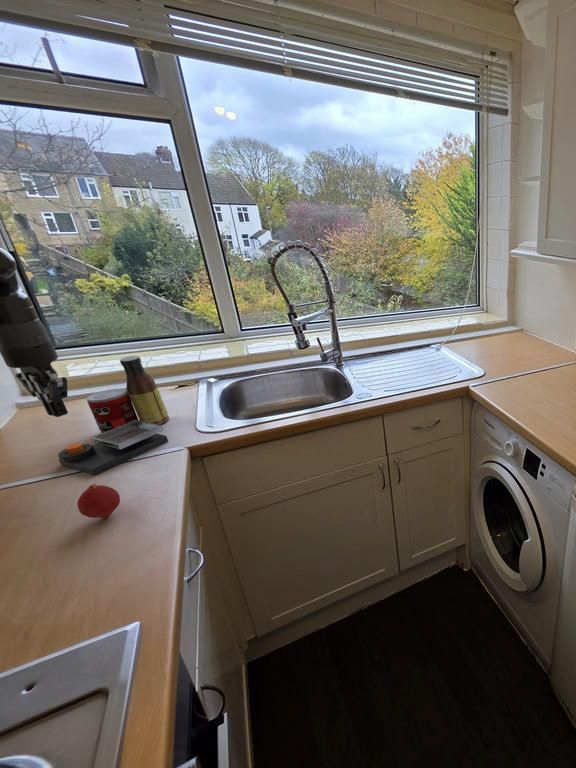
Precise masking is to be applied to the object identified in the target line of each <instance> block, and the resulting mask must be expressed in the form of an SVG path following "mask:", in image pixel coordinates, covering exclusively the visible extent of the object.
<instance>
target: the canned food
mask: <svg viewBox="0 0 576 768" xmlns="http://www.w3.org/2000/svg"><path fill="white" fill-rule="evenodd" d="M86 402H87V404H88V407H89V409H90V411H91V413H92V416H93V419H94V421H95V422H96V425H97V427H98V429H99V431H100V434H101V433H103V432H106V431H108V430H111V429H113V428H116V427H118V426H121V425H123V424H126V423H128V422H131V421H133V420H139V417H138V415H137V413H136V410H135V408H134V406H133V404H132V401H131V399H130V397H129V395H128V392H127V390H126V388H111V389H105V390H101V391H98V392H95V393H93V394H92V393H91V394H90V395H89V396H87V397H86Z"/></svg>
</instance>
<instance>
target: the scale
mask: <svg viewBox="0 0 576 768" xmlns="http://www.w3.org/2000/svg"><path fill="white" fill-rule="evenodd" d="M166 443H169V439H168V437H167V435H165V434H160V433H157V434H155V435H152V436H150V437H148V438H145V439H143V440H141V441H139V442H136V443H134V444H132V445H130V446H127V447H125V448H123V449H120V450H119V449H115V448H111V447H108V446H104V445H100V444H96V443H94V444H92V443H91V444H90V443H82V445H83V447H84V450H83V451H80V452H78V453H74V454H68V453H67V451H66V449H65V448H64V449H62V450H61V451H59V452H58V456H57V457H58V462H59V464H60V467H63V468H67V469H70V470H74V471H76V472H80V473H84V474H86V475H90V476H94V477H96V476H98V475H101V474H102V473H104V472H106V471H109V470H111V469H113V468H115V467H118V466H119V465H122V464H123V463H126V462H129V461H130V460H133V459H134V458H137V457H139V456H141V455H144V454H145V453H147V452H149V451H151V450H153V449H156V448H159V447H160V446H162V445H164V444H166Z"/></svg>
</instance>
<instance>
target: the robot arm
mask: <svg viewBox="0 0 576 768" xmlns="http://www.w3.org/2000/svg"><path fill="white" fill-rule="evenodd" d="M17 266H18V265H17V262H16V260H15V258H14V257H13V255H12V254H11V253H10V252H9V251H8V250H6V249H4V248H2V247H0V355H1V357H2V359H3V361H4V364H5V366H7V367H9V368H12V369H19V371H20V372H18V373H15V377H16V379H18V381H19V382H20V383H21V384H22V386H23V387H24V388H25V389H26V390H27V392H28V393H29V394H30V395H31V396H32V397H33V398H37V400H38V401H39V402H41V403H42V406H43V407H44V409H45V411H46V414H47V415H48V416H52V417H55V418H60V417H63V416H65V415H67V414H69V411H68V409H67V407H66V405H65V403H64V400H63V399H66V398H68V395H69V394H68V379H67V377H65V376H62V377H59V374H58V372H57V370H56V369H55V368H54V367H53V365H52V363H53V362H55V361H57V360H58V358H59V355H58V353H57V350H56V349H55V346H54V344H53V342H52V340H51V337H50V335H49V333H48V330H47V329H46V327H45V325H44V323H43V322H42V321H41V319H40V317H39V314H38V313H37V310H36V308H35V305H34V303H33V302H32V299H31V298H30V296H29V295H28V294H27V293H26V292H25V291H24V289H23V286H22V284H21V282H20V279H19V278H18V274H17V273H16V272H17V269H18V268H17Z"/></svg>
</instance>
